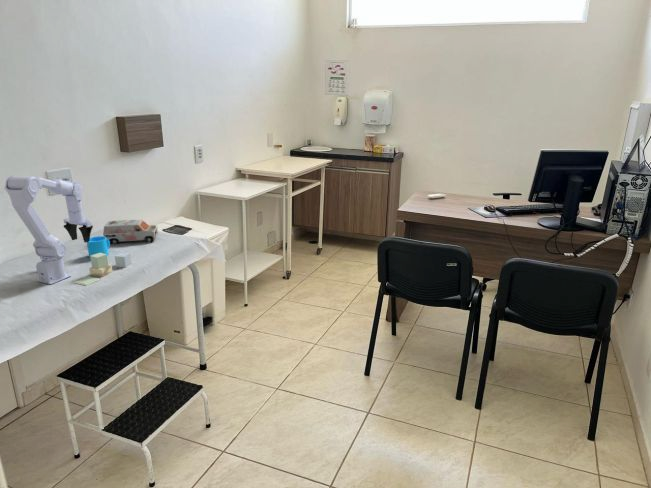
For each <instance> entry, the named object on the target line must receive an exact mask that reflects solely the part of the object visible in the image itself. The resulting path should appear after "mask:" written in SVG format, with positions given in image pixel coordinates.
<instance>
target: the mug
mask: <svg viewBox="0 0 651 488" xmlns="http://www.w3.org/2000/svg"><path fill="white" fill-rule="evenodd" d="M86 245H87V252H88V257H89V259H91V258H90V256H91V255H94V254H97V253H103V254H107V257H109V255H110V254H109V249H110V245H111V243H110V241H109V240H108V239H107V238H106V237H104V236H102V235H101V236H100V235H99V236H91V237H90V241H89V242H86Z"/></svg>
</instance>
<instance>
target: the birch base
mask: <svg viewBox="0 0 651 488" xmlns="http://www.w3.org/2000/svg"><path fill="white" fill-rule="evenodd" d="M108 265H109V266H106V267H104V268H101V269H97V268H93V267H92V266H91V267H90V268H89V275H90V276H89V277H96V278H98V277H99V278H104V277H105V276H108V275H109V274H111V273H113V271H114V270H113V265H112V264H110V263H108Z"/></svg>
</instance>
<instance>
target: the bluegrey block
mask: <svg viewBox="0 0 651 488" xmlns="http://www.w3.org/2000/svg"><path fill="white" fill-rule="evenodd" d="M114 261H115V267H116V268H128V267H129V266H130V265H132V259H131V253H129V252H120V253H117V254H116V255H114Z"/></svg>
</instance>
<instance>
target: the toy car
mask: <svg viewBox="0 0 651 488" xmlns="http://www.w3.org/2000/svg"><path fill="white" fill-rule="evenodd" d="M102 235H103V237H106V238H107V239H108V240H109V242H110V245H119V244H120V242H135V241H144V242H145V243H146V242H150V243H154V240H156V238H157V237H158V235H159V231H158V225H155V224H154V225H153V224H152V225H151V224H147V222H145V221H144V220H143V219H120V220H119V219H117V220H110V221H107V222H106V223H105V224H104V226H103V232H102Z"/></svg>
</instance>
